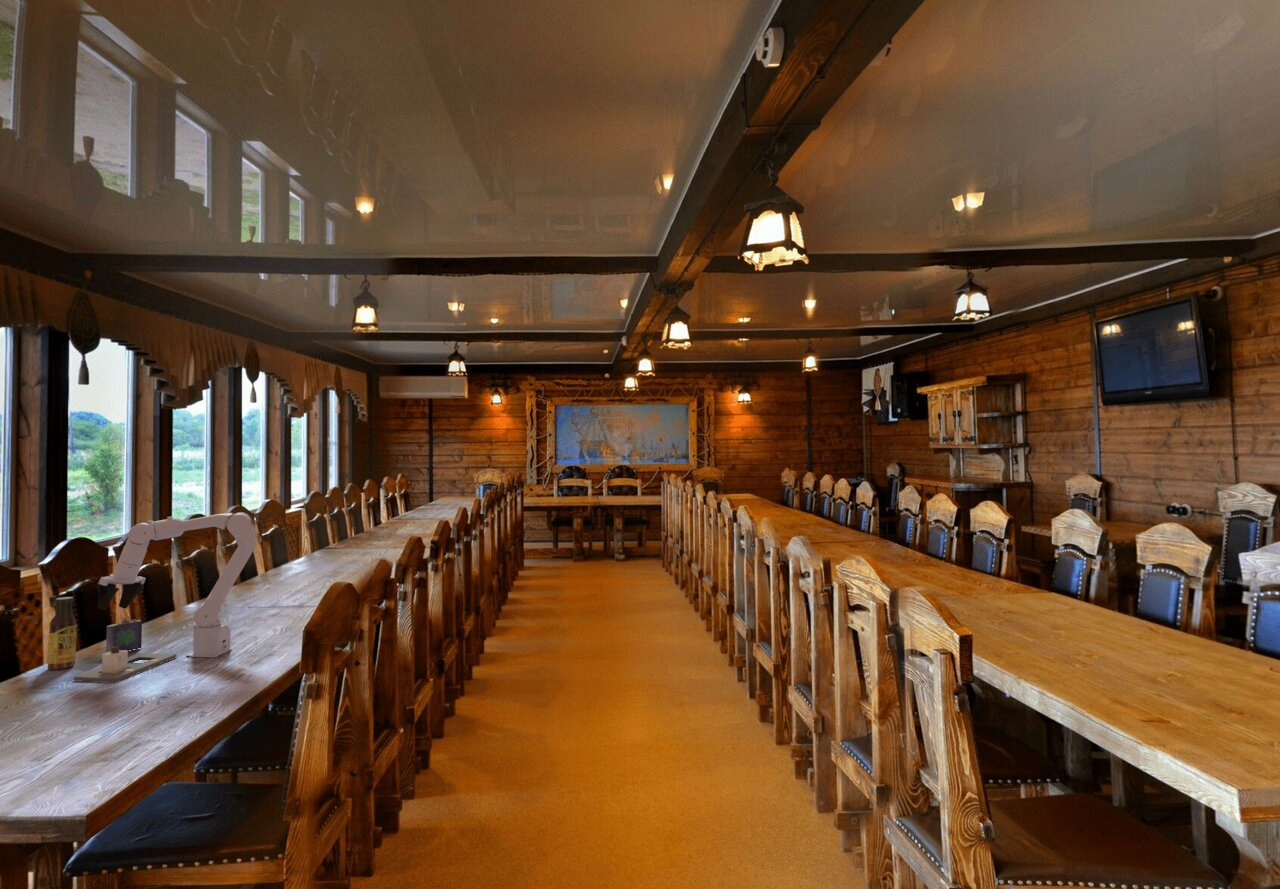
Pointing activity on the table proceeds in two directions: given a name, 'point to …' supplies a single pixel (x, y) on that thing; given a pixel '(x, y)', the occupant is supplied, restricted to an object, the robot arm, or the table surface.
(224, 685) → the table surface
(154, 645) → the table surface
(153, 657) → the panel
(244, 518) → the robot arm
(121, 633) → the flask
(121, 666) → the plug
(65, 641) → the sauce bottle
